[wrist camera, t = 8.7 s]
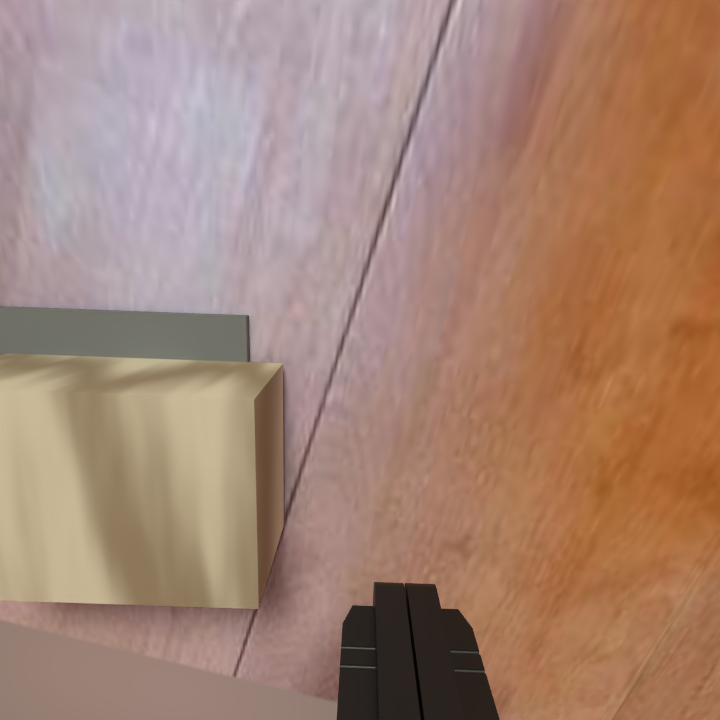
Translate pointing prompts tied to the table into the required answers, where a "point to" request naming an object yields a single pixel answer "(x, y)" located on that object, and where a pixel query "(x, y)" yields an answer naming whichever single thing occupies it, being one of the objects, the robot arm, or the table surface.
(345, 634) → the robot arm
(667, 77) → the table surface
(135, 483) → the ash block
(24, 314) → the mat
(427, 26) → the table surface
